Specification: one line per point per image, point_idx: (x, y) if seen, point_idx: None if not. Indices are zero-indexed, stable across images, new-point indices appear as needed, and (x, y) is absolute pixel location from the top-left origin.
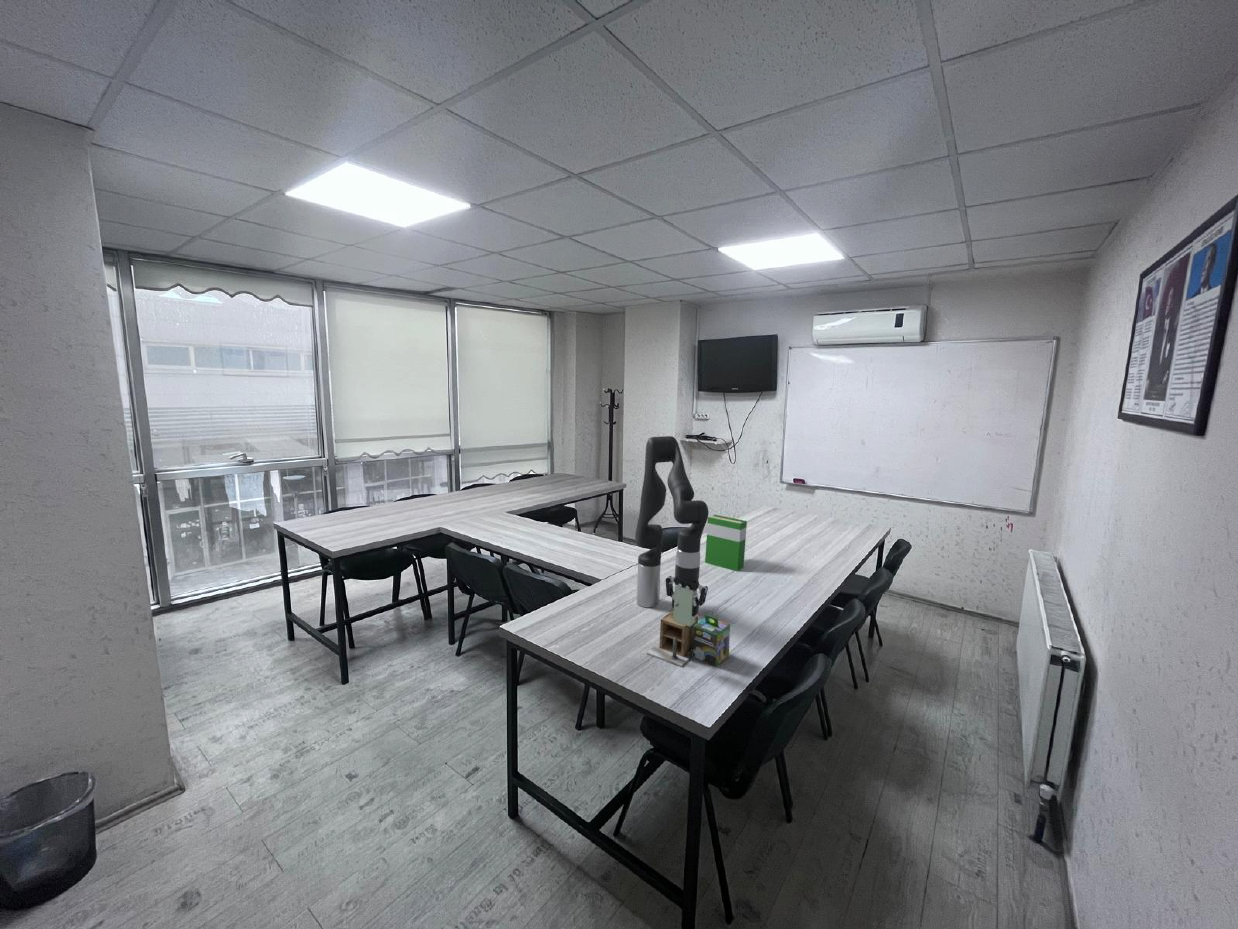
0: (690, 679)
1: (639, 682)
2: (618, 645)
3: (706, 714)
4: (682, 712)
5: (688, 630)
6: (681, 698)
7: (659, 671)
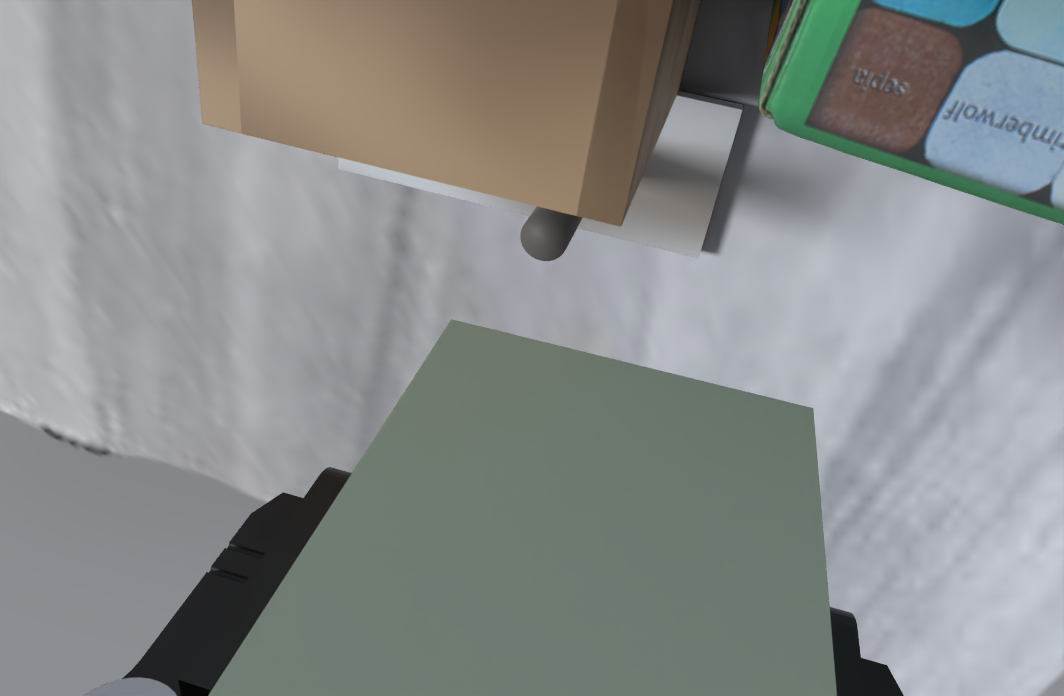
0: (811, 389)
1: None
2: (91, 127)
3: (968, 684)
4: None
5: (671, 44)
6: None
7: None
